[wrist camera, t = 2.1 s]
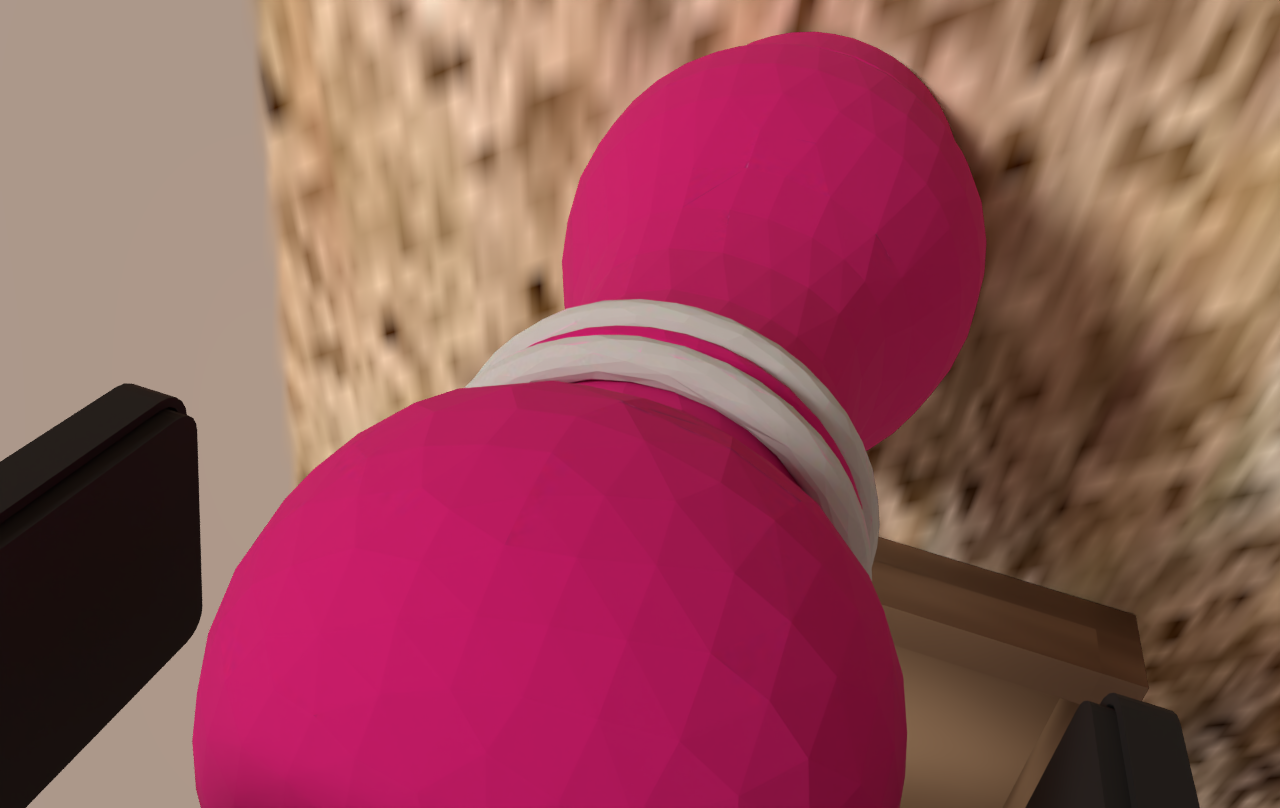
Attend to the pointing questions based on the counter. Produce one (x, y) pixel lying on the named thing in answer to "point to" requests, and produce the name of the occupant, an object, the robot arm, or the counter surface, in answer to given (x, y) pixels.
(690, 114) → the pepper mill
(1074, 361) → the counter surface
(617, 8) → the counter surface
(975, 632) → the tray
